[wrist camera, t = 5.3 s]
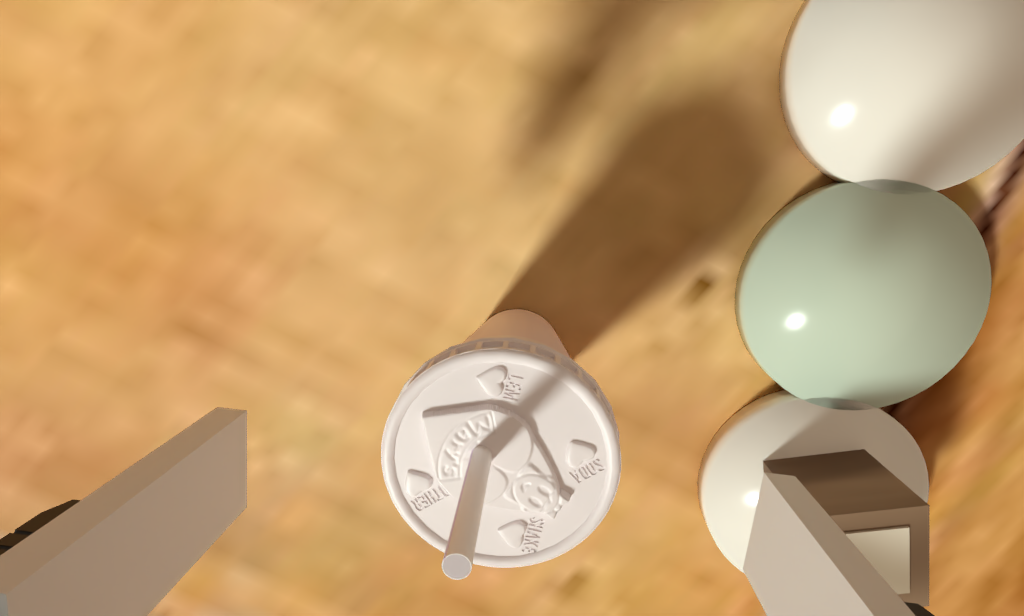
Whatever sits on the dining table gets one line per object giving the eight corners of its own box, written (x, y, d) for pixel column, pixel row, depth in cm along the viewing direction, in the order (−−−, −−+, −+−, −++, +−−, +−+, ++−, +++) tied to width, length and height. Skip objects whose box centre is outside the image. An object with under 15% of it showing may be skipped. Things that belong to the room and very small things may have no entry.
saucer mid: (759, 167, 22) (771, 166, 21) (997, 191, 21) (1023, 192, 20) (715, 385, 24) (724, 396, 23) (932, 410, 24) (952, 422, 22)
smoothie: (498, 246, 23) (432, 350, 9) (624, 335, 24) (732, 554, 10) (413, 366, 24) (250, 609, 11) (534, 448, 25) (523, 774, 11)
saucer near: (808, -83, 20) (825, -99, 19) (1072, -59, 20) (1106, -74, 18) (756, 180, 22) (768, 180, 21) (994, 205, 22) (1019, 207, 20)
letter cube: (762, 460, 23) (807, 520, 19) (864, 448, 23) (931, 507, 19) (768, 545, 24) (813, 618, 20) (866, 535, 24) (930, 608, 20)
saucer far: (718, 374, 24) (727, 385, 23) (935, 399, 24) (956, 411, 22) (681, 559, 26) (687, 577, 25) (880, 584, 26) (896, 603, 24)
